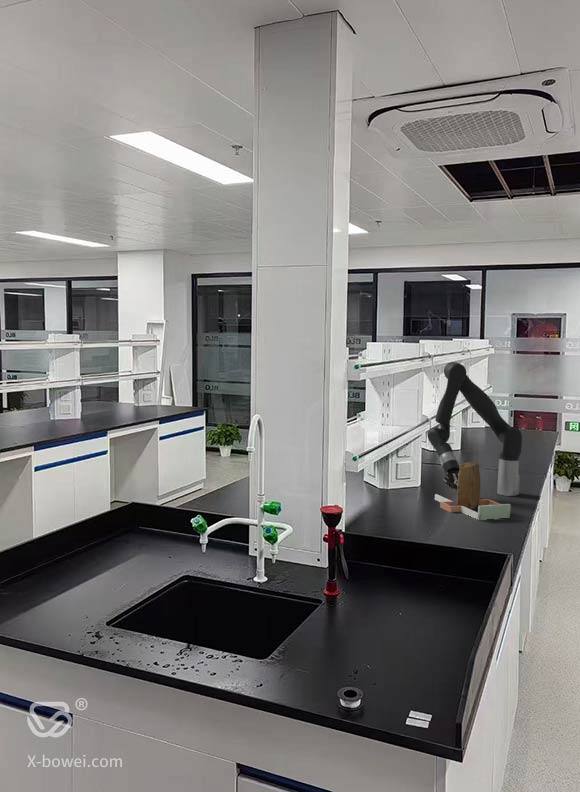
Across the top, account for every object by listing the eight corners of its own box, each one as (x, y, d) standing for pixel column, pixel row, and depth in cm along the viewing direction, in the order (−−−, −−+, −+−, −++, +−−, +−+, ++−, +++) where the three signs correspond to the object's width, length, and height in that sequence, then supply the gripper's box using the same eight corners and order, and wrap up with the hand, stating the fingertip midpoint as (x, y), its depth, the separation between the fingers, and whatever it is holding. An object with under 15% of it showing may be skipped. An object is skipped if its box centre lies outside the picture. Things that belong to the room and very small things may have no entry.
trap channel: (472, 497, 319) (472, 485, 318) (519, 517, 284) (520, 503, 283) (425, 500, 311) (425, 487, 311) (468, 521, 277) (469, 506, 276)
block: (470, 511, 293) (472, 465, 291) (454, 507, 298) (456, 463, 296) (481, 506, 301) (483, 462, 299) (466, 503, 306) (468, 460, 304)
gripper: (440, 459, 309) (452, 491, 299) (465, 458, 313) (478, 490, 303) (433, 468, 315) (445, 500, 304) (458, 467, 319) (471, 499, 308)
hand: (462, 495), depth 304 cm, fingers closed
